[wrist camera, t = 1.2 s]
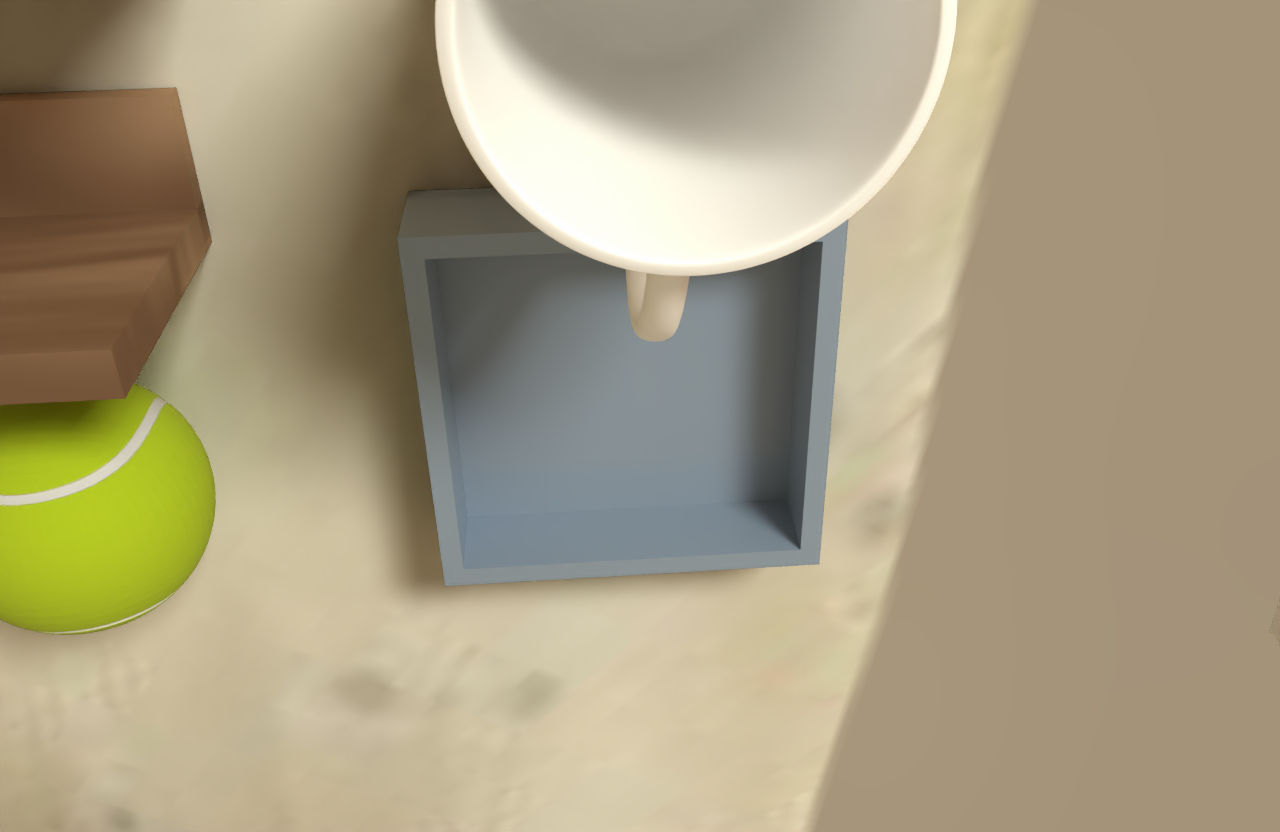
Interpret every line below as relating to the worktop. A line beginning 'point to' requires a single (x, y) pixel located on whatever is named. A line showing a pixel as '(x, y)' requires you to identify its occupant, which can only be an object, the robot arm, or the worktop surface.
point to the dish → (613, 403)
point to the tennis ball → (98, 510)
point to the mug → (690, 123)
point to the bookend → (92, 238)
